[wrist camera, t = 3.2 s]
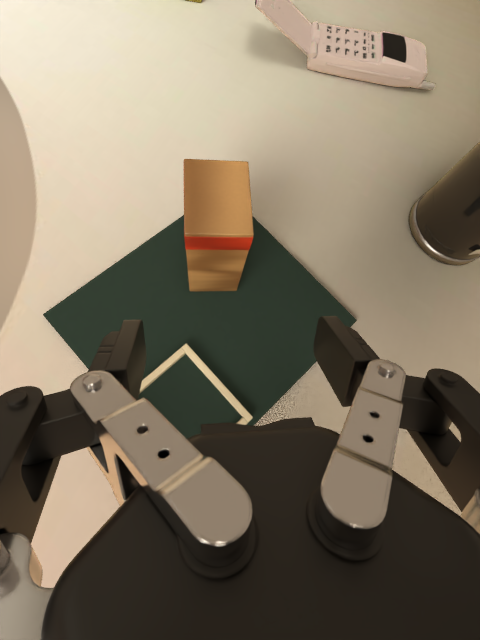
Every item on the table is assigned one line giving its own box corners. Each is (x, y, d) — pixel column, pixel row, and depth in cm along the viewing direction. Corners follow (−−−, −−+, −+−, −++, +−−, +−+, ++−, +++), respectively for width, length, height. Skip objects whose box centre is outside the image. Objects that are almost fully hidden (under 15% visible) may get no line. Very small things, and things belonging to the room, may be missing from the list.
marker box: (233, 236, 33) (248, 160, 23) (237, 291, 31) (254, 235, 21) (188, 236, 33) (183, 157, 22) (189, 291, 31) (184, 234, 21)
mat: (223, 189, 35) (224, 181, 34) (354, 321, 33) (360, 317, 31) (45, 316, 29) (38, 311, 28) (190, 488, 27) (189, 492, 25)
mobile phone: (258, -29, 37) (460, 15, 39) (251, 29, 43) (427, 65, 45) (254, 7, 35) (464, 51, 37) (247, 62, 41) (430, 98, 43)
